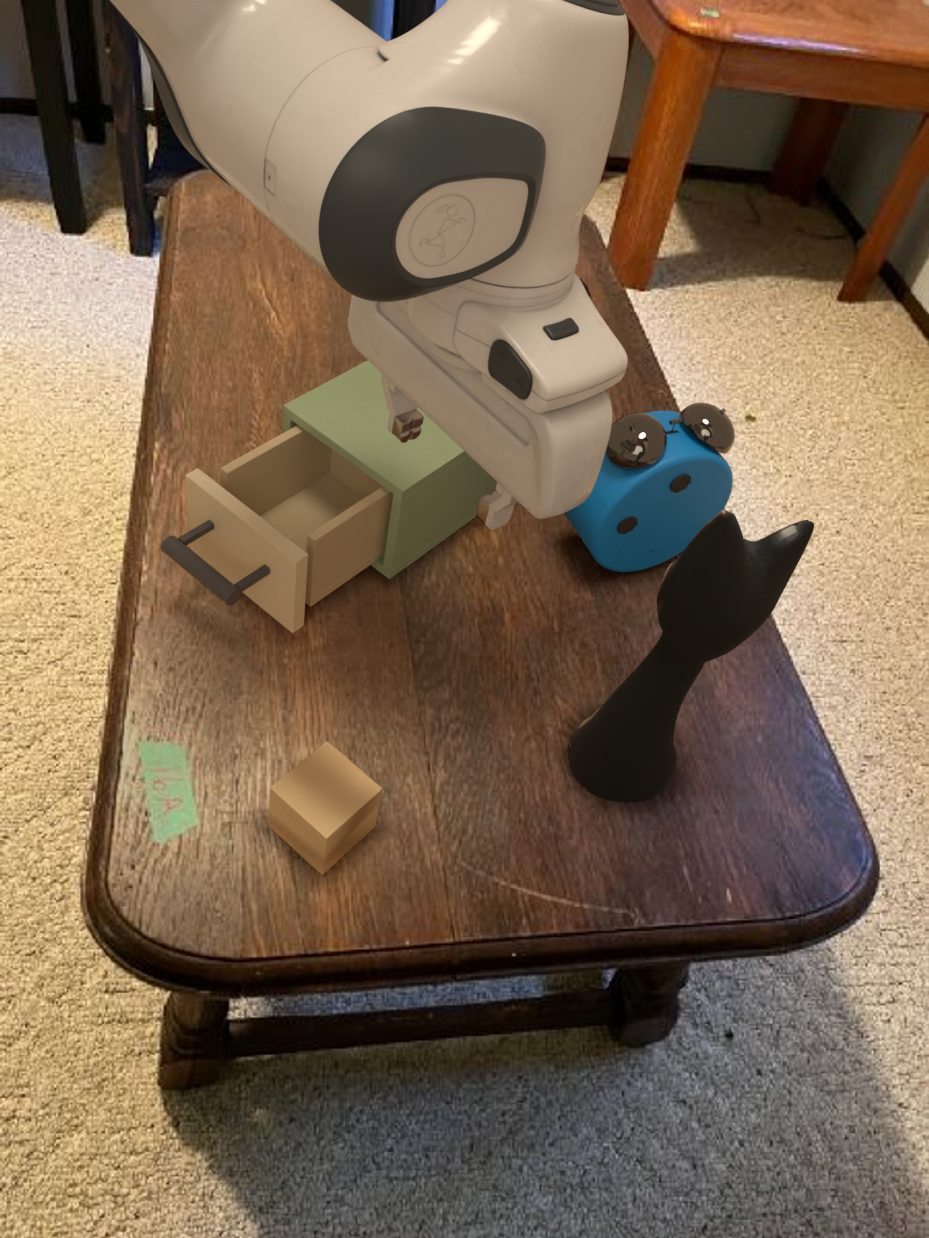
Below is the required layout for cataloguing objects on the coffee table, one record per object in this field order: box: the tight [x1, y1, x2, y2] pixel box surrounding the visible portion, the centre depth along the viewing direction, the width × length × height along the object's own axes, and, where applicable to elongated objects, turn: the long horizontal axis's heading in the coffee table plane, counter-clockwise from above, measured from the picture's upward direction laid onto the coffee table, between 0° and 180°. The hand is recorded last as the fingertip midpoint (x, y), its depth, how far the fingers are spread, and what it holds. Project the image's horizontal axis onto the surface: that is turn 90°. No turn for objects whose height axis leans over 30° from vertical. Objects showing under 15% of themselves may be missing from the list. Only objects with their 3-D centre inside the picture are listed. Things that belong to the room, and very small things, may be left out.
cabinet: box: [281, 359, 497, 580], centre depth 85 cm, size 16×13×10 cm
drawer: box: [160, 425, 393, 634], centre depth 78 cm, size 19×12×8 cm, turn 140°
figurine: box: [568, 509, 815, 803], centre depth 65 cm, size 9×7×25 cm
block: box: [268, 740, 383, 876], centre depth 65 cm, size 5×5×5 cm
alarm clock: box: [564, 402, 736, 573], centre depth 83 cm, size 13×6×15 cm, turn 114°
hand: (446, 476), depth 67 cm, fingers open, 8 cm apart
